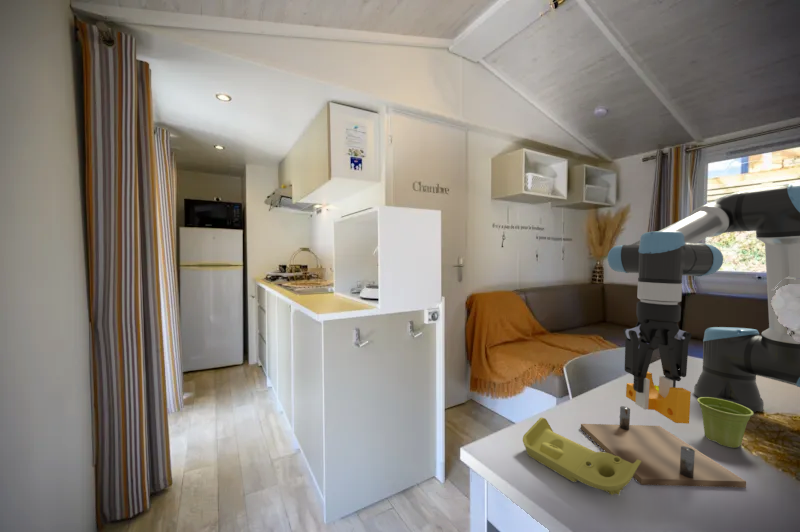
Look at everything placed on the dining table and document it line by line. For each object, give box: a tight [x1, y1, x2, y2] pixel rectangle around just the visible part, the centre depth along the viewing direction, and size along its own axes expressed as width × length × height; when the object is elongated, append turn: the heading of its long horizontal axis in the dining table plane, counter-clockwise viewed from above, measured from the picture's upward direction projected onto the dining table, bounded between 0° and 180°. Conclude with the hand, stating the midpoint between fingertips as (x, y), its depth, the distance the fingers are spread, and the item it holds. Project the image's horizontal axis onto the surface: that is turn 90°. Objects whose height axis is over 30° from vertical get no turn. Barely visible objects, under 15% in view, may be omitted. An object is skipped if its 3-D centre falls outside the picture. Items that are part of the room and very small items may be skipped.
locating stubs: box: [619, 405, 695, 478], centre depth 70 cm, size 2×19×5 cm, turn 0°
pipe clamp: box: [625, 370, 692, 425], centre depth 69 cm, size 12×4×6 cm, turn 178°
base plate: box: [580, 423, 747, 488], centre depth 70 cm, size 20×20×1 cm
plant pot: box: [696, 397, 755, 449], centre depth 76 cm, size 9×9×9 cm
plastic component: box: [522, 417, 641, 496], centre depth 63 cm, size 20×8×10 cm
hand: (653, 406), depth 70 cm, fingers closed on pipe clamp, 4 cm apart
